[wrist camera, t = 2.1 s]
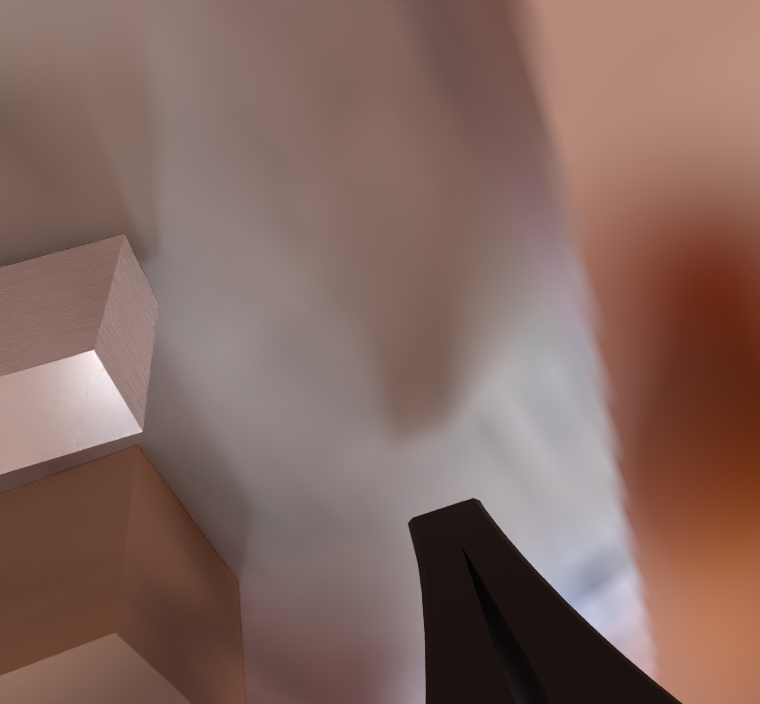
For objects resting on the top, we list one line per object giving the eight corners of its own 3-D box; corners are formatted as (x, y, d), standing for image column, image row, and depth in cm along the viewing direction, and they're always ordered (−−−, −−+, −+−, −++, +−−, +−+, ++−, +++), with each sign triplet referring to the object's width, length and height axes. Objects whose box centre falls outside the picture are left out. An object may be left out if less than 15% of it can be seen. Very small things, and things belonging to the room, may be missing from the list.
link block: (238, 575, 14) (249, 755, 11) (-1, 665, 14) (-59, 877, 11) (138, 439, 11) (115, 632, 8) (-169, 549, 11) (-316, 794, 8)
